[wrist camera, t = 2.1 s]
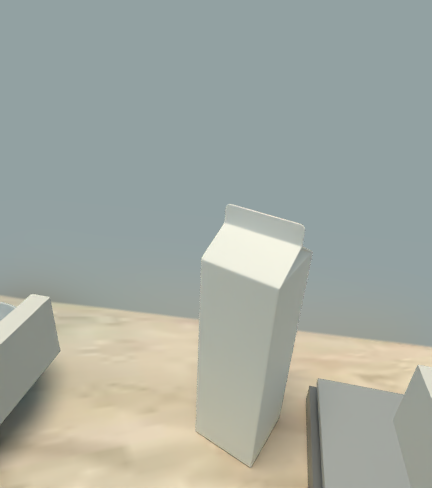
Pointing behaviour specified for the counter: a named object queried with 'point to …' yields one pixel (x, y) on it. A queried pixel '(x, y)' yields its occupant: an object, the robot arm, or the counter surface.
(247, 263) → the milk
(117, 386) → the counter surface
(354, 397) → the kitchen scale
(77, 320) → the counter surface
